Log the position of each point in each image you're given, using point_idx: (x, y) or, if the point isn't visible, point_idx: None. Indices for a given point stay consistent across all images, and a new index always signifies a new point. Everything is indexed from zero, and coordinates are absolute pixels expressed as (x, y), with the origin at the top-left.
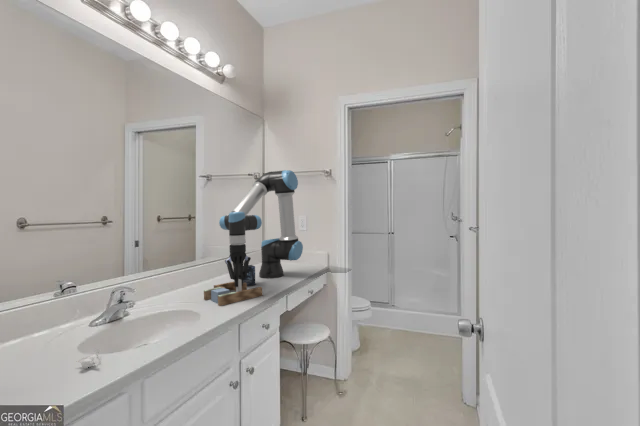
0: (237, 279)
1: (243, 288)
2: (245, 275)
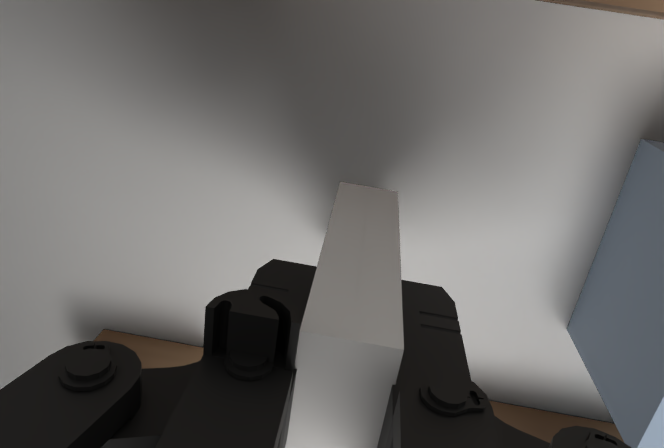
0: (451, 381)
1: None
2: (75, 385)
